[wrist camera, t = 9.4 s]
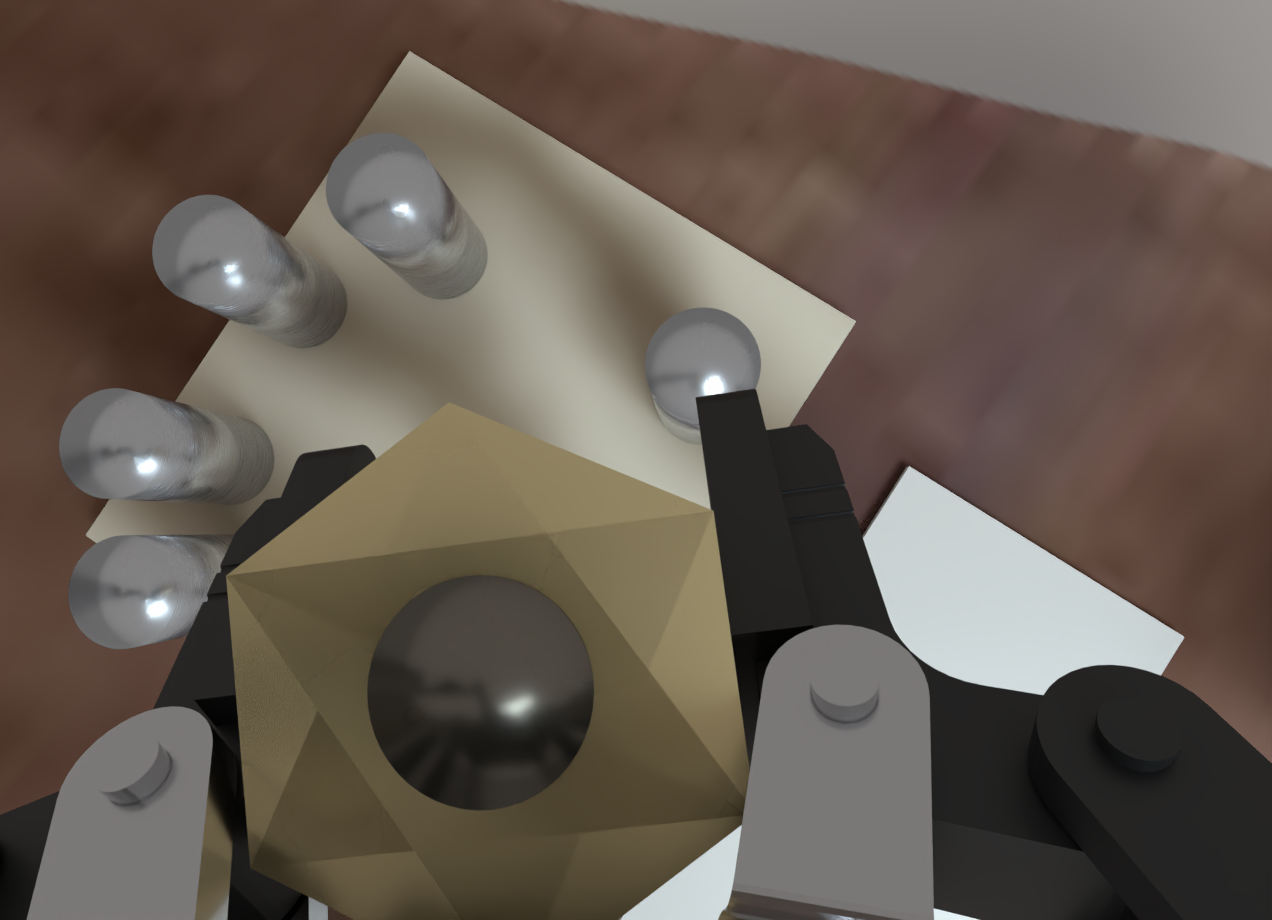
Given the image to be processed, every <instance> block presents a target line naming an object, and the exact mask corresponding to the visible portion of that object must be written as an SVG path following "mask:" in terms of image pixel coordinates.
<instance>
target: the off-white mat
mask: <svg viewBox="0 0 1272 920" xmlns="http://www.w3.org/2000/svg"><path fill="white" fill-rule="evenodd" d="M862 537H863V540H864V543H865V546H866V549H867V552H868V555H869V558H870V561H871V564H872V567H873V570H874V573H875V576H876V579H877V582H878V585H879V588H880V591H881V594H882V597H883V600H884V603H885V606H886V609H887V612H888V615H889V618H890V621H891V623H892V625H893V628H894V630H895V632H896V633H897V635H898V636H899V638H900V639H901V641H902V642H903V643H904V644H905V645H906V646H907V647H908V649H909V650H910V651H911V652H912V653H914V654H915V655H916V656H917V657H918V658H920V659H921V660H922V661H924V662H925V663H927V664H928V665H930V666H931V667H933V668H934V669H936V670H938V671H940V672H942V673H945V674H947V675H949V676H951V677H954V678H957V679H960V680H963V681H966V682H970V683H975V684H979V685H984V686H991V687H997V688H1003V689H1009V690H1015V691H1021V692H1027V693H1033V694H1039V695H1044V694H1045V692H1046V691H1047V689H1048V688H1049V686H1051V685H1052V684H1053V683H1054V682H1055V681H1056V680H1057V679H1059V678H1060V677H1062V676H1064V675H1066V674H1067V673H1069V672H1071V671H1074V670H1077V669H1080V668H1083V667H1089V666H1095V665H1120V666H1129V667H1134V668H1138V669H1142V670H1147V671H1149V672H1152V673H1155V674H1158V675H1161V674H1162V673H1163V671H1164V669H1165V668H1166V666H1167V665H1168V663H1169V661H1170V660H1171V658H1172V657H1173V655H1174V653H1175V652H1176V650H1177V648H1178V647H1179V645H1180V644H1181V642H1182V640H1183V639H1184V636H1182V635H1180V634H1179V633H1177V632H1176V631H1174V630H1172V629H1171V628H1169V627H1168V626H1166V625H1164V624H1163V623H1161V622H1160V621H1158V620H1156V619H1155V618H1153V617H1151V616H1150V615H1148V614H1147V613H1145V612H1143V611H1142V610H1140V609H1139V608H1137V607H1135V606H1134V605H1132V604H1131V603H1129V602H1127V601H1126V600H1124V599H1122V598H1121V597H1119V596H1118V595H1116V594H1114V593H1113V592H1111V591H1110V590H1108V589H1106V588H1105V587H1103V586H1102V585H1100V584H1098V583H1097V582H1095V581H1093V580H1092V579H1090V578H1089V577H1087V576H1085V575H1084V574H1082V573H1081V572H1079V571H1077V570H1076V569H1074V568H1073V567H1071V566H1069V565H1068V564H1066V563H1064V562H1063V561H1061V560H1060V559H1058V558H1056V557H1055V556H1053V555H1052V554H1050V553H1048V552H1047V551H1045V550H1044V549H1042V548H1040V547H1039V546H1037V545H1035V544H1034V543H1032V542H1031V541H1029V540H1027V539H1026V538H1024V537H1023V536H1021V535H1019V534H1018V533H1016V532H1015V531H1013V530H1011V529H1010V528H1008V527H1006V526H1005V525H1003V524H1002V523H1000V522H998V521H997V520H995V519H994V518H992V517H990V516H989V515H987V514H986V513H984V512H982V511H981V510H979V509H977V508H976V507H974V506H973V505H971V504H969V503H968V502H966V501H965V500H963V499H961V498H960V497H958V496H957V495H955V494H953V493H952V492H950V491H948V490H947V489H945V488H944V487H942V486H940V485H939V484H937V483H936V482H934V481H932V480H931V479H929V478H927V477H926V476H924V475H923V474H921V473H919V472H918V471H916V470H915V469H913V468H911V467H910V466H908V467H906V468H905V470H904V471H903V473H902V474H901V476H900V477H899V479H898V481H897V482H896V484H895V485H894V487H893V488H892V490H891V492H890V493H889V495H888V496H887V498H886V499H885V501H884V503H883V504H882V506H881V507H880V509H879V510H878V512H877V514H876V515H875V517H874V518H873V520H872V521H871V523H870V525H869V526H868V528H867V529H866V531H865V532H864V534H863V536H862ZM741 827H742V825H741V826H740V827H738V828H737V829H736V830H734V831H733V832H732V833H730V834H729V835H728V836H727V837H725V838H724V839H723V840H721V841H720V842H719V843H717V844H716V845H715V846H713V847H712V848H711V849H710V850H708V851H707V852H706V853H704V854H703V855H702V856H700V857H699V858H698V859H696V860H695V861H694V862H693V863H691V864H690V865H689V866H687V867H686V868H685V869H683V870H682V871H681V872H679V873H678V874H677V875H676V876H674V877H673V878H672V879H670V880H669V881H668V882H666V883H665V884H664V885H662V886H661V887H660V888H658V889H657V890H656V891H655V892H653V893H652V894H651V895H649V896H648V897H647V898H645V899H644V900H643V901H641V902H640V903H639V904H638V905H636V906H635V907H634V908H632V909H631V910H630V911H628V912H627V913H626V914H624V915H623V916H622V917H621V918H619V919H618V920H718V918H719V916H720V914H721V912H722V910H724V909H725V908H726V907H727V905H728V903H729V899H730V896H731V891H732V886H733V881H734V874H735V868H736V861H737V854H738V847H739V841H740V834H741ZM934 920H979V919H975V918H971V917H967V916H963V915H958V914H954V913H950V912H946V911H942V910H938V909H934Z"/></svg>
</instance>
